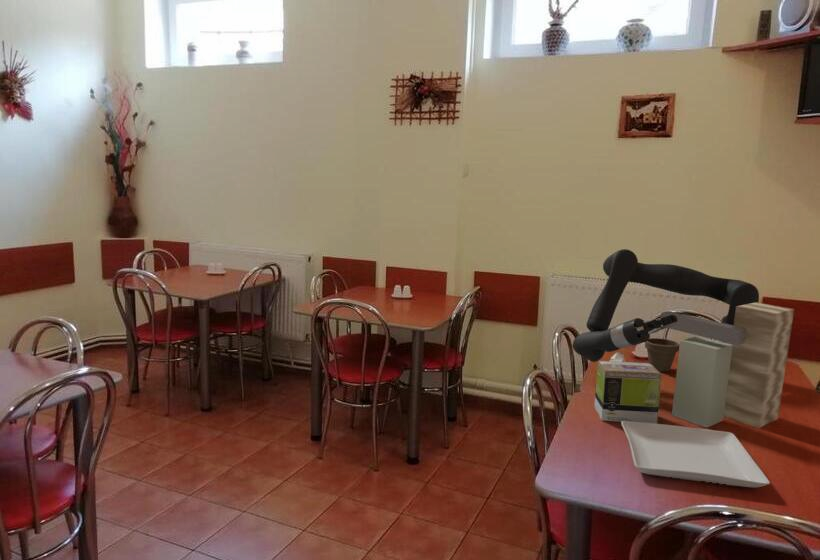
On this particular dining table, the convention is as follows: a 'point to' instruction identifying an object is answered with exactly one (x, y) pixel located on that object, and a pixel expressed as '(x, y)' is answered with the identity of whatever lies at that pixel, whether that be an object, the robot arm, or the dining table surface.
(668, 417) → the dining table surface
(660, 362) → the flower pot
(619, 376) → the tea box
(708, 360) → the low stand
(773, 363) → the tall stand
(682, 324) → the metal bar
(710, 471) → the square plate
